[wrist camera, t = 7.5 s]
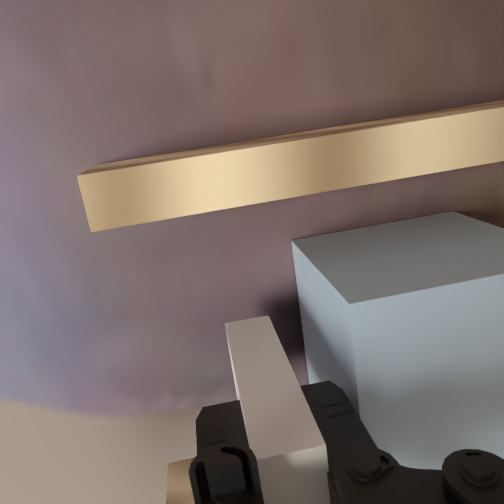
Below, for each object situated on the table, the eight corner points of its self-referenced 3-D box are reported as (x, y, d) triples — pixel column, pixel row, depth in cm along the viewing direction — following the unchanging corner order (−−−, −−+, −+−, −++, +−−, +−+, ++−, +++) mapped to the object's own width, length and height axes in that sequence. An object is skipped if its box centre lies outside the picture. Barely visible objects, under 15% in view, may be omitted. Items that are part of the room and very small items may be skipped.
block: (310, 389, 18) (368, 511, 13) (291, 240, 17) (349, 304, 11) (456, 358, 19) (575, 461, 13) (452, 211, 17) (588, 257, 12)
